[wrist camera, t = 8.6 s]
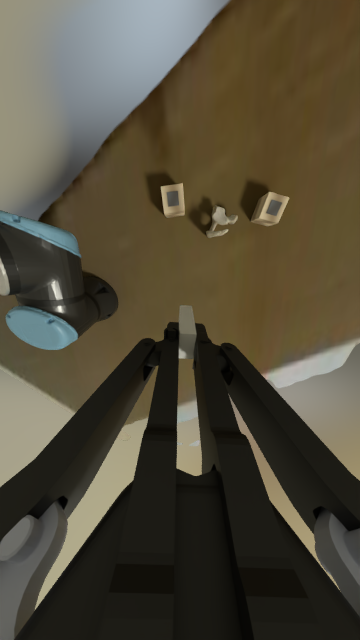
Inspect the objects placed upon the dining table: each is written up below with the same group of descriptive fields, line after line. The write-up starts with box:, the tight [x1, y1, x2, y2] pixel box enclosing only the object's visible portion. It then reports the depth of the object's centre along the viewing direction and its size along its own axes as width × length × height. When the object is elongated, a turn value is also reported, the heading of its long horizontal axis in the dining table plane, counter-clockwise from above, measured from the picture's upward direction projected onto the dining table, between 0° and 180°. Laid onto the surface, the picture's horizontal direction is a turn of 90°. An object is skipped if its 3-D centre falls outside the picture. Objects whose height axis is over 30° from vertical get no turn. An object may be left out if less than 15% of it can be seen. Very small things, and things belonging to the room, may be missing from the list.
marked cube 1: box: [250, 192, 289, 226], centre depth 35 cm, size 5×5×5 cm
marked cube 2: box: [161, 183, 185, 218], centre depth 34 cm, size 5×5×5 cm
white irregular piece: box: [206, 205, 238, 238], centre depth 35 cm, size 9×6×10 cm
